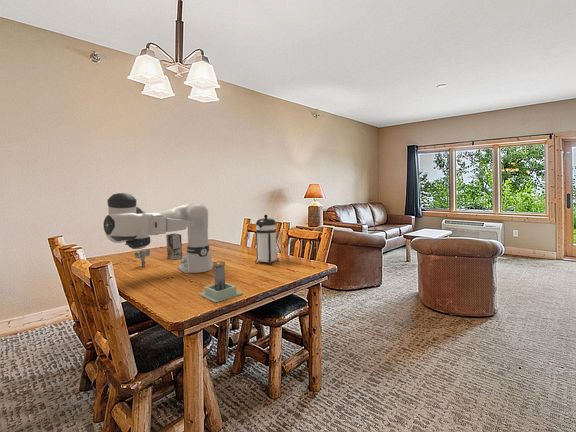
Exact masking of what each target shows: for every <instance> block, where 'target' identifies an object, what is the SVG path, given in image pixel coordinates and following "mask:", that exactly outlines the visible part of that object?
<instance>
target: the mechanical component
mask: <svg viewBox="0 0 576 432" xmlns="http://www.w3.org/2000/svg"><path fill="white" fill-rule="evenodd" d="M150 254H151V249H149V248H144V249H140V250H139V252H138V251H136V252H134V257H135V259H140V260H141V267H142V268H145V266H146V262H145V260H146V257H149V256H150Z"/></svg>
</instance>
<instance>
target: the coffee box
mask: <svg viewBox="0 0 576 432" xmlns="http://www.w3.org/2000/svg"><path fill="white" fill-rule="evenodd" d="M165 237H166V248H167V249H166V252H167V259H170V260H173V261H174V260H175V261H176V260H182V257H183V245H182V242H183V241H182V234H181V233H180V234H179V233H169V234H166V236H165Z"/></svg>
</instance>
